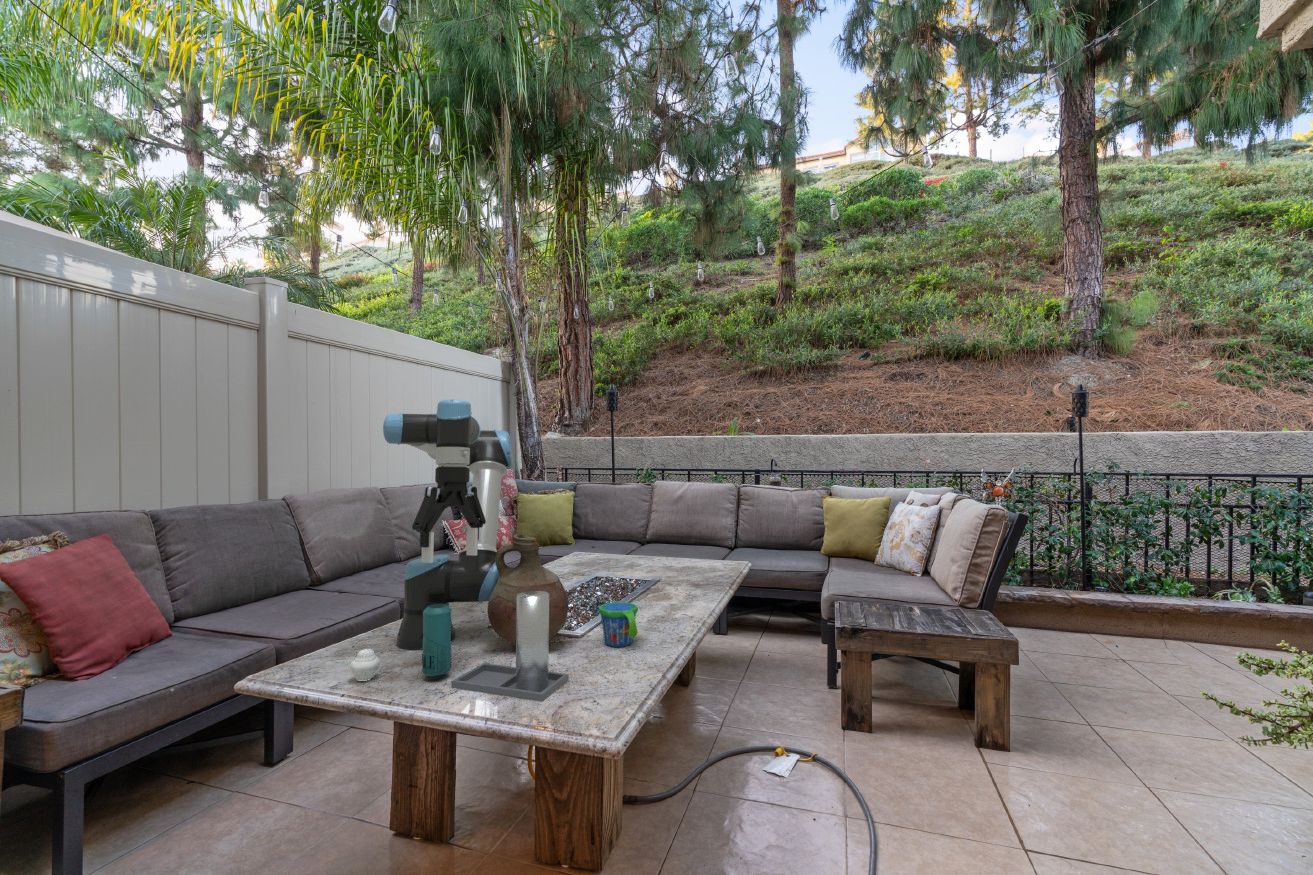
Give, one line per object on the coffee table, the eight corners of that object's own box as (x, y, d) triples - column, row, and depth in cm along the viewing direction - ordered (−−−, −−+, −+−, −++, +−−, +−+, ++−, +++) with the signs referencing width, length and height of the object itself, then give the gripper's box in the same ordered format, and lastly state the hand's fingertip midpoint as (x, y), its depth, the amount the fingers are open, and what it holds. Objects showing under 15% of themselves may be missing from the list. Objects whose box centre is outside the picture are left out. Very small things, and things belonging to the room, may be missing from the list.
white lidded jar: (381, 672, 133) (381, 643, 134) (378, 682, 128) (379, 651, 128) (351, 676, 131) (352, 646, 131) (347, 686, 125) (348, 654, 126)
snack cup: (590, 638, 159) (590, 602, 159) (623, 633, 164) (623, 597, 164) (612, 655, 145) (612, 615, 146) (648, 648, 150) (648, 610, 151)
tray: (483, 673, 133) (483, 662, 133) (568, 684, 126) (568, 674, 126) (451, 692, 122) (451, 680, 122) (542, 706, 115) (542, 694, 115)
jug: (569, 657, 144) (570, 541, 144) (482, 663, 140) (483, 543, 140) (566, 628, 166) (567, 527, 166) (491, 633, 162) (492, 529, 162)
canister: (526, 679, 127) (527, 589, 128) (554, 682, 125) (554, 592, 125) (509, 691, 120) (510, 597, 121) (537, 695, 118) (538, 599, 119)
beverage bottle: (455, 671, 134) (456, 587, 135) (445, 683, 127) (446, 594, 128) (427, 672, 134) (428, 587, 134) (416, 683, 127) (418, 594, 128)
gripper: (421, 464, 118) (418, 566, 116) (501, 467, 140) (499, 553, 138) (396, 464, 121) (393, 564, 119) (478, 467, 143) (476, 551, 141)
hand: (450, 558), depth 129 cm, fingers open, 13 cm apart
